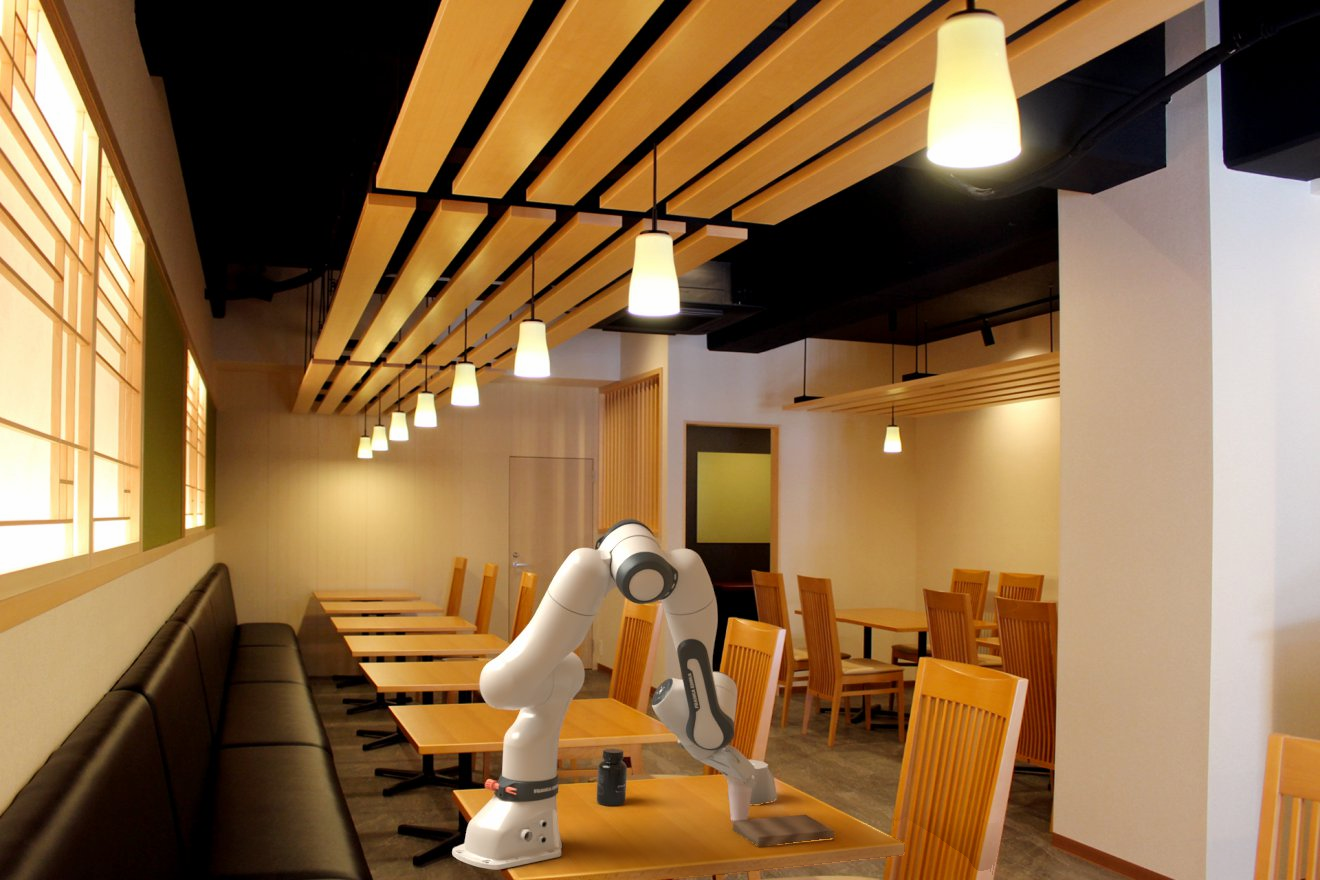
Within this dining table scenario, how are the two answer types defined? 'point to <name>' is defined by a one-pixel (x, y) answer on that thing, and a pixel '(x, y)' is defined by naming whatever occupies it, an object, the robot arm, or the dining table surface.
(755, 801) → the toilet tissue
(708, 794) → the dining table surface
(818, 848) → the dining table surface
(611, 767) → the supplement bottle
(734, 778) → the smoothie
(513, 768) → the robot arm
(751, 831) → the walnut board
